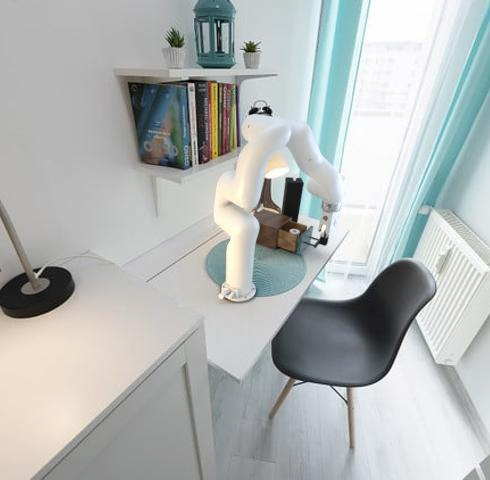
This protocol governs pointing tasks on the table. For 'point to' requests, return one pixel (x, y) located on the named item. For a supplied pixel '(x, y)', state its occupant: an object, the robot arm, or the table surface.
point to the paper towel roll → (296, 232)
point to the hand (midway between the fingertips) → (322, 244)
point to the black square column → (292, 197)
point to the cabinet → (269, 227)
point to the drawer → (295, 237)
